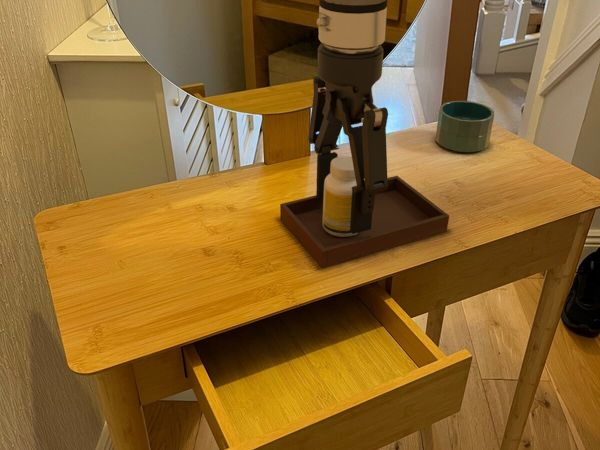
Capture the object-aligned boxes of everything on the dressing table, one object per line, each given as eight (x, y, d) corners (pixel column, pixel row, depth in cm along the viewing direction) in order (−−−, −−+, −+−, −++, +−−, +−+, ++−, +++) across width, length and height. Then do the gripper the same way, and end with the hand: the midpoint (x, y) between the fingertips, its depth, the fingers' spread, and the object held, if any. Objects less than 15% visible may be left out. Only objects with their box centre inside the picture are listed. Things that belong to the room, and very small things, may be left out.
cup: (496, 141, 109) (502, 109, 106) (474, 159, 103) (480, 125, 100) (449, 128, 114) (454, 96, 111) (426, 144, 108) (430, 112, 105)
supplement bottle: (365, 237, 83) (371, 171, 77) (325, 239, 82) (327, 173, 77) (358, 215, 87) (362, 152, 82) (319, 217, 87) (322, 154, 81)
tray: (395, 190, 95) (397, 175, 93) (447, 231, 85) (449, 215, 84) (280, 219, 87) (280, 203, 86) (322, 268, 78) (322, 251, 76)
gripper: (281, 24, 78) (283, 183, 90) (372, 78, 62) (359, 263, 74) (334, 17, 81) (329, 173, 93) (434, 67, 64) (412, 247, 77)
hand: (342, 212), depth 83 cm, fingers open, 9 cm apart
